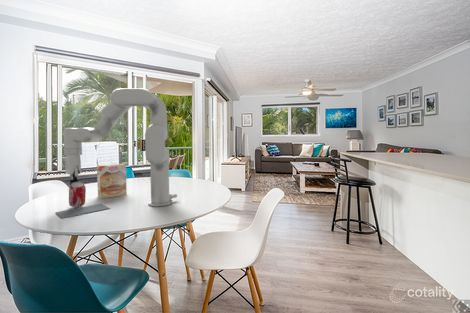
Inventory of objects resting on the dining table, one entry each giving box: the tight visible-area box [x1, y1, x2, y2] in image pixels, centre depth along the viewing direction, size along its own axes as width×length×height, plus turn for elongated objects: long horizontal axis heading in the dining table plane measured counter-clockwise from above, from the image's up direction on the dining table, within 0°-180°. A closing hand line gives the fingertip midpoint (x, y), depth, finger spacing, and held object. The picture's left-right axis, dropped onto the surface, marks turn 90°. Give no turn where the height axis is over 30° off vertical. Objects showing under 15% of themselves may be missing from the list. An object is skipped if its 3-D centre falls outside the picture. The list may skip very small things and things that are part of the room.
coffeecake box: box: [96, 163, 127, 199], centre depth 145 cm, size 15×7×20 cm, turn 132°
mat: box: [55, 203, 111, 219], centre depth 114 cm, size 20×12×1 cm, turn 138°
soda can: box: [68, 181, 87, 209], centre depth 119 cm, size 7×7×12 cm
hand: (74, 187), depth 121 cm, fingers closed
